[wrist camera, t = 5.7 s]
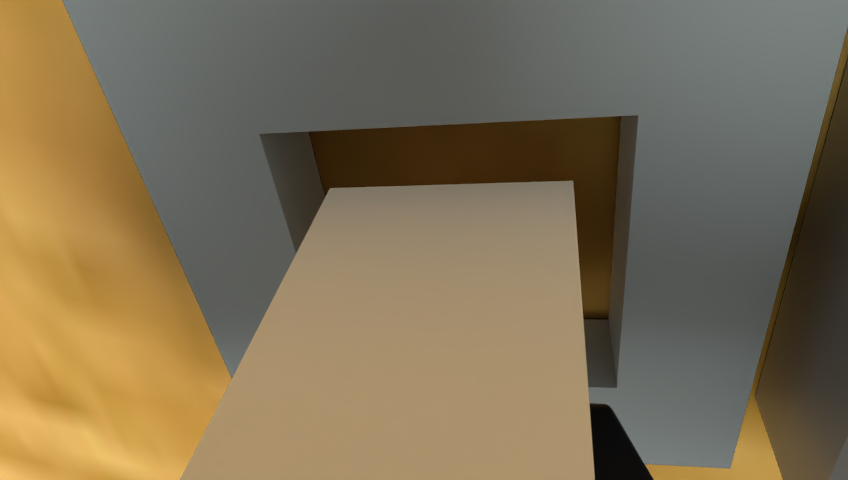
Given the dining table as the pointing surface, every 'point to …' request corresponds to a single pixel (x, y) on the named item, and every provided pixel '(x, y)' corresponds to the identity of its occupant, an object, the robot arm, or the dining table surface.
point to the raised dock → (814, 329)
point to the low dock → (485, 103)
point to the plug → (417, 345)
